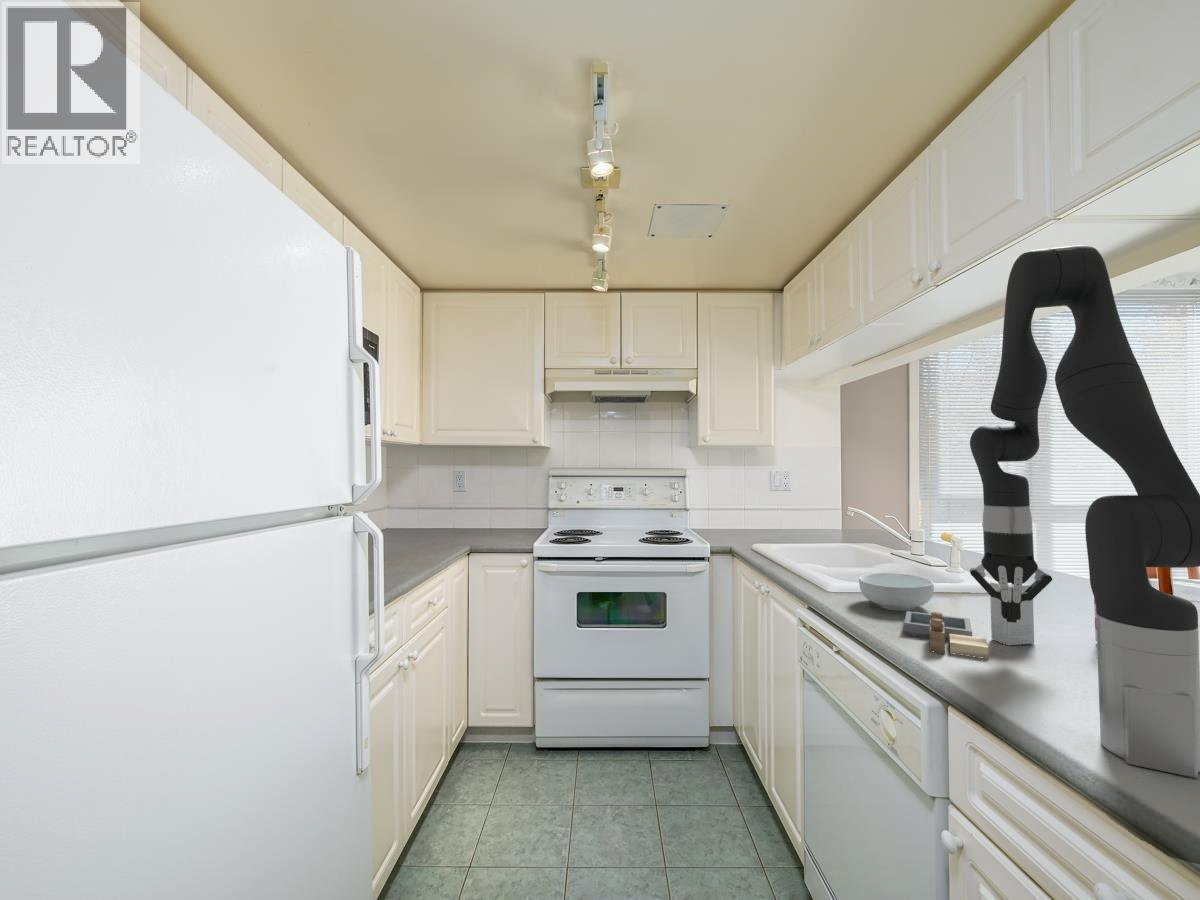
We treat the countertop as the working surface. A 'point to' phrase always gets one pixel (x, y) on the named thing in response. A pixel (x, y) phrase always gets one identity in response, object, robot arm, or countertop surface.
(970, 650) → the tan block
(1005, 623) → the skincare box
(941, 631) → the stop bar
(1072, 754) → the countertop surface
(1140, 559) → the robot arm
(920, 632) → the tray
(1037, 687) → the countertop surface
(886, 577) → the cereal bowl
